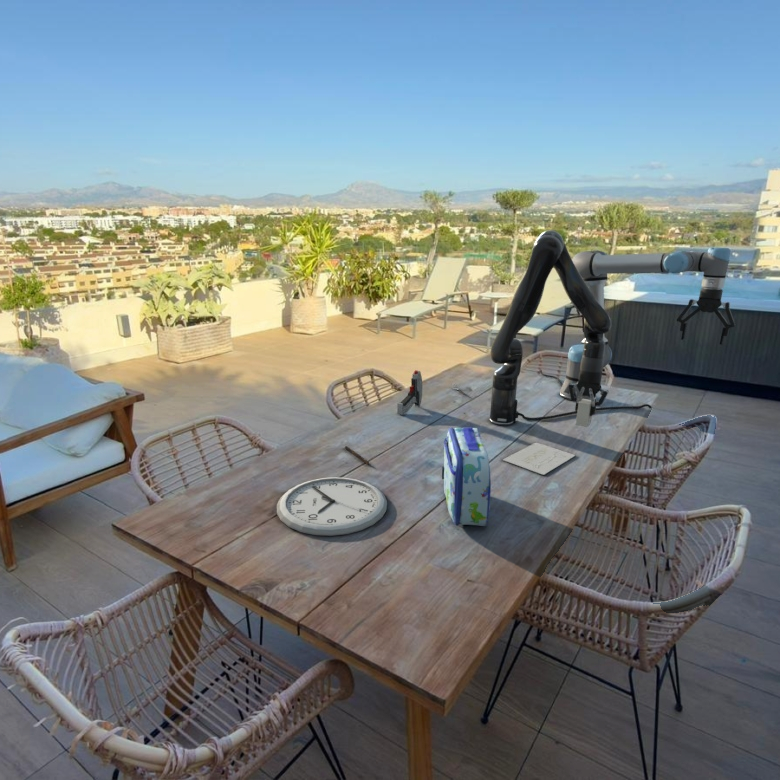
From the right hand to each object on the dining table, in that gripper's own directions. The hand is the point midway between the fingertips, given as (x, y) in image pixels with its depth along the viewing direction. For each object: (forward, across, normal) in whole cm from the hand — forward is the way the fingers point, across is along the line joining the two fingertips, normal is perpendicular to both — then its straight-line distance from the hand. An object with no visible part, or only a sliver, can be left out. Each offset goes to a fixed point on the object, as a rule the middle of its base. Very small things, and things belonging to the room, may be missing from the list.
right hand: (701, 341), depth 211 cm
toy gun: (+31, -92, -73) cm, 121 cm away
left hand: (+22, -26, -56) cm, 65 cm away
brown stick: (+31, -79, -121) cm, 148 cm away
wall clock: (+31, -64, -149) cm, 165 cm away
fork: (+31, -89, -37) cm, 101 cm away
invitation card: (+31, -31, -84) cm, 94 cm away
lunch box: (+31, -35, -128) cm, 136 cm away
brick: (+26, -26, -56) cm, 67 cm away
